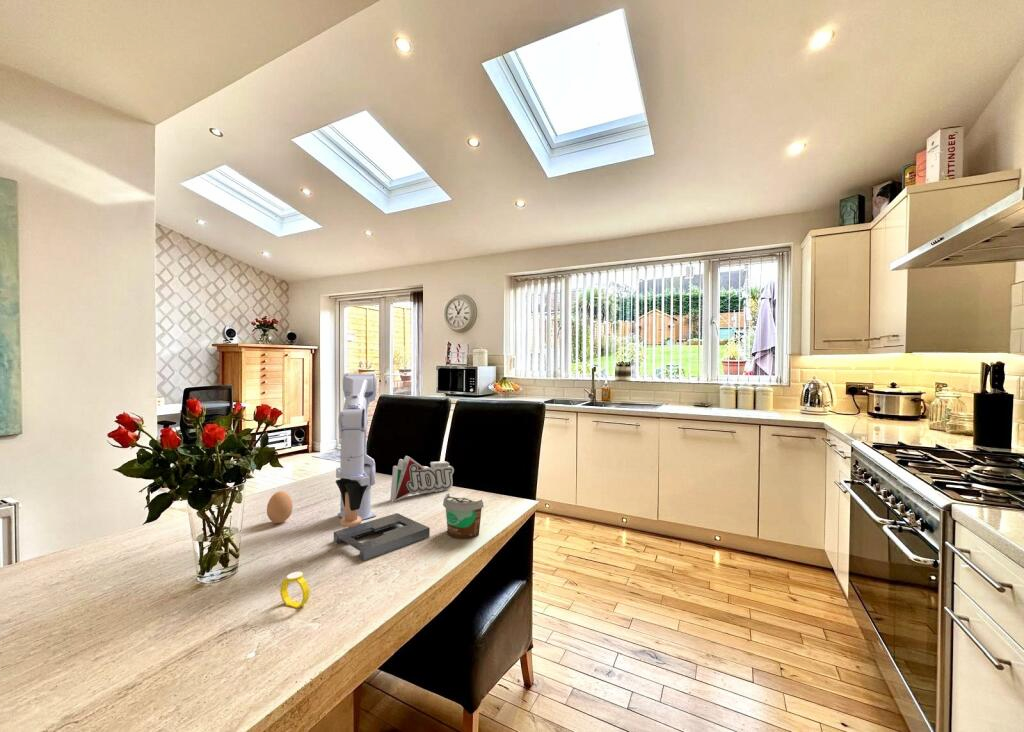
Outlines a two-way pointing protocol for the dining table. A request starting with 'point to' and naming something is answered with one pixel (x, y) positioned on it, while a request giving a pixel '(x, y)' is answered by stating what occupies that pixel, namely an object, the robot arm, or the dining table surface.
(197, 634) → the dining table surface
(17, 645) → the dining table surface
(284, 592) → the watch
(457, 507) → the food container
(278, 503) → the egg
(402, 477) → the decorative sign
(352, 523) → the peg
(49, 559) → the dining table surface
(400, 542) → the keyhole plate
